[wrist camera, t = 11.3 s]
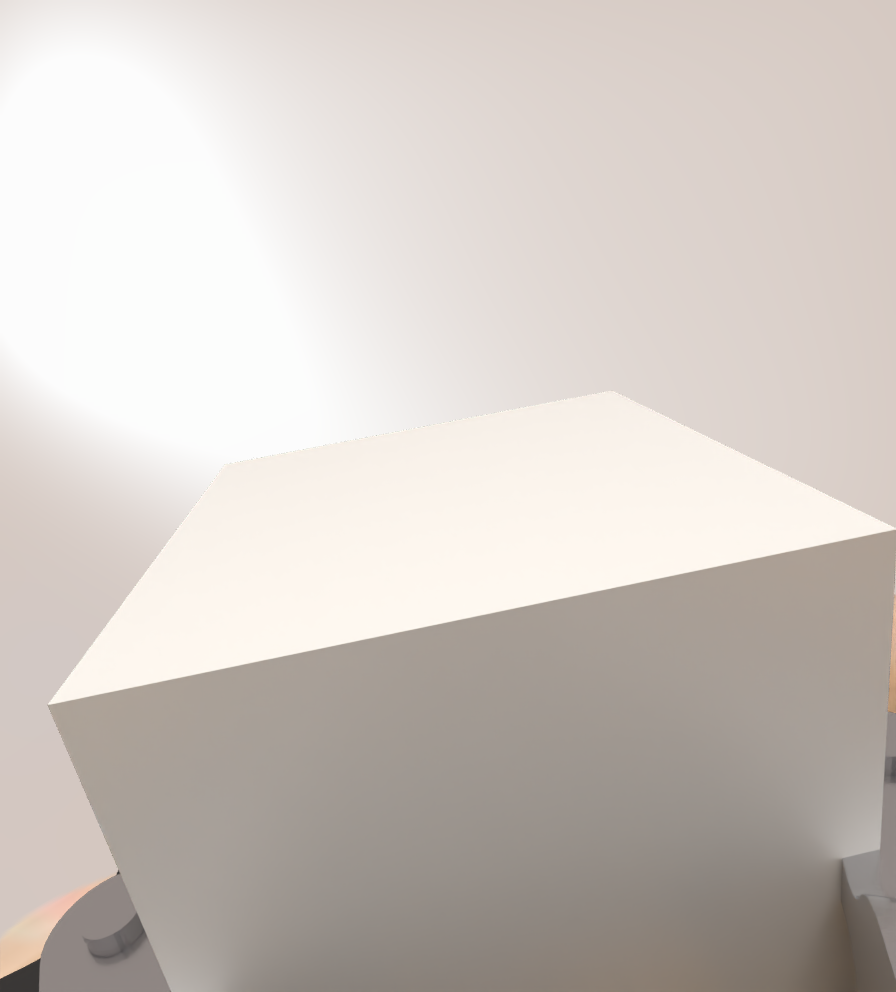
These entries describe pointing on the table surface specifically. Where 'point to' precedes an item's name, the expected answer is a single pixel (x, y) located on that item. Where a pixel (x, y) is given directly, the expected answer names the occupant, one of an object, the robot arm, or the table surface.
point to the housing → (497, 715)
